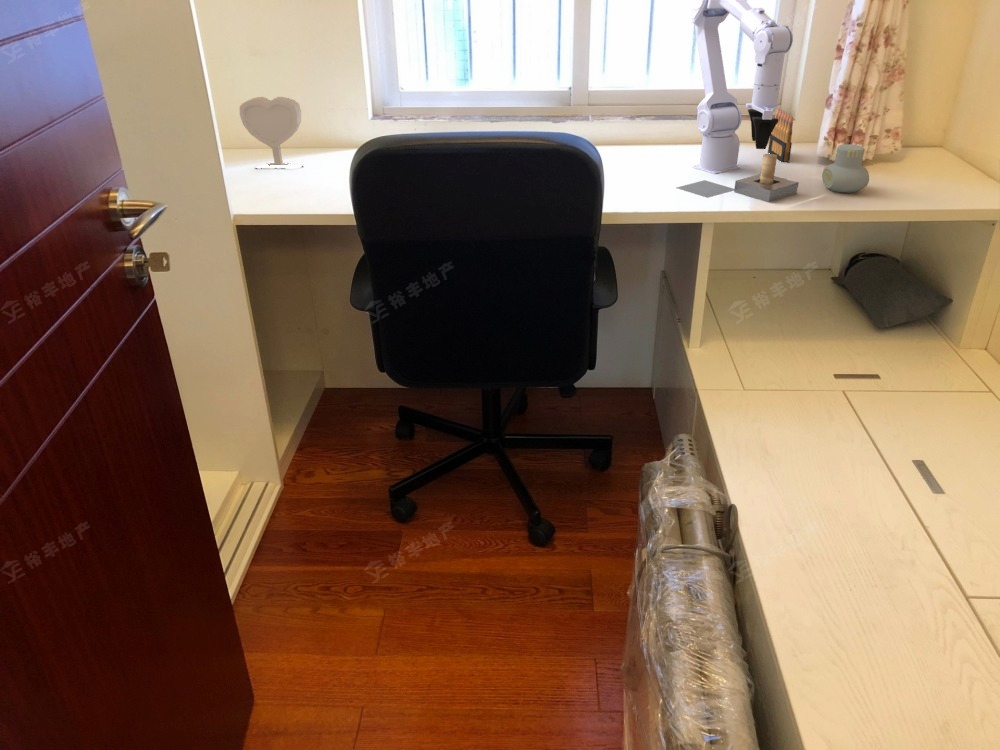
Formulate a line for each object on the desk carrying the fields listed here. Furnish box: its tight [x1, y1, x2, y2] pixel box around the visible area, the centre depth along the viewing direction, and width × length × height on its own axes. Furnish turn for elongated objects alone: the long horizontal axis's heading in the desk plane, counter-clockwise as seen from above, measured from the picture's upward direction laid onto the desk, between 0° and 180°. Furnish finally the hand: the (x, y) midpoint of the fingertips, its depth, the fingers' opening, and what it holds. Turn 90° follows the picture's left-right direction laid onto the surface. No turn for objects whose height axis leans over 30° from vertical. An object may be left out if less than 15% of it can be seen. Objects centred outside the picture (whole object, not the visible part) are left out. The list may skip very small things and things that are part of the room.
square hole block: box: [733, 173, 799, 203], centre depth 185 cm, size 10×10×3 cm
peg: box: [760, 153, 778, 186], centre depth 184 cm, size 3×3×9 cm
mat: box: [675, 179, 734, 198], centre depth 190 cm, size 10×10×1 cm
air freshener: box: [821, 143, 870, 194], centre depth 185 cm, size 11×8×10 cm
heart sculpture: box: [239, 96, 302, 166], centre depth 212 cm, size 16×5×18 cm, turn 85°
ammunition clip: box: [767, 107, 794, 163], centre depth 211 cm, size 11×2×12 cm, turn 4°
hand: (758, 144), depth 187 cm, fingers open, 7 cm apart
